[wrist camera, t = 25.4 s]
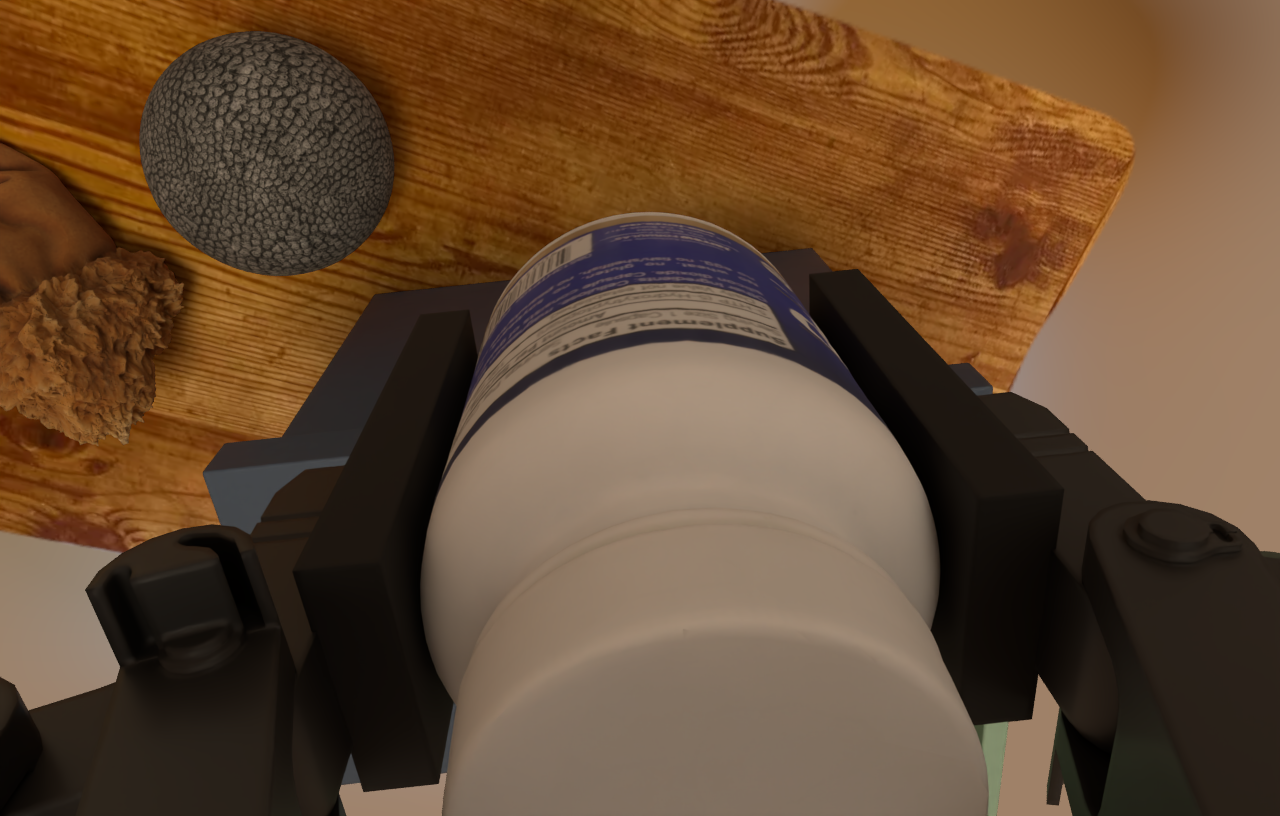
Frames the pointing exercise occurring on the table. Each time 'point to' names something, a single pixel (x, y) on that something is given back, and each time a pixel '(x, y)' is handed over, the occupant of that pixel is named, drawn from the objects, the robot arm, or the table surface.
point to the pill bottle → (683, 554)
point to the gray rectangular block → (356, 382)
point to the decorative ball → (266, 153)
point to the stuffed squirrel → (75, 311)
